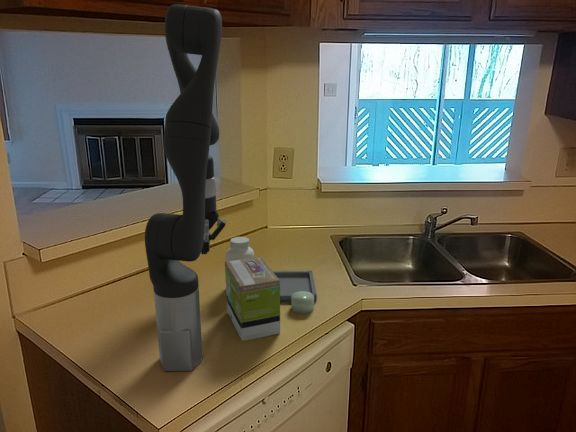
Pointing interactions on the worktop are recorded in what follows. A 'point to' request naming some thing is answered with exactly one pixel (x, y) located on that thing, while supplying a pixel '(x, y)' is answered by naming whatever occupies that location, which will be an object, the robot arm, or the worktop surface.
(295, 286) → the tray
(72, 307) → the worktop surface
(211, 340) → the worktop surface
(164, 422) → the worktop surface
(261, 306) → the tea box
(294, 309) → the squat mint cylinder
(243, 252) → the pill bottle
